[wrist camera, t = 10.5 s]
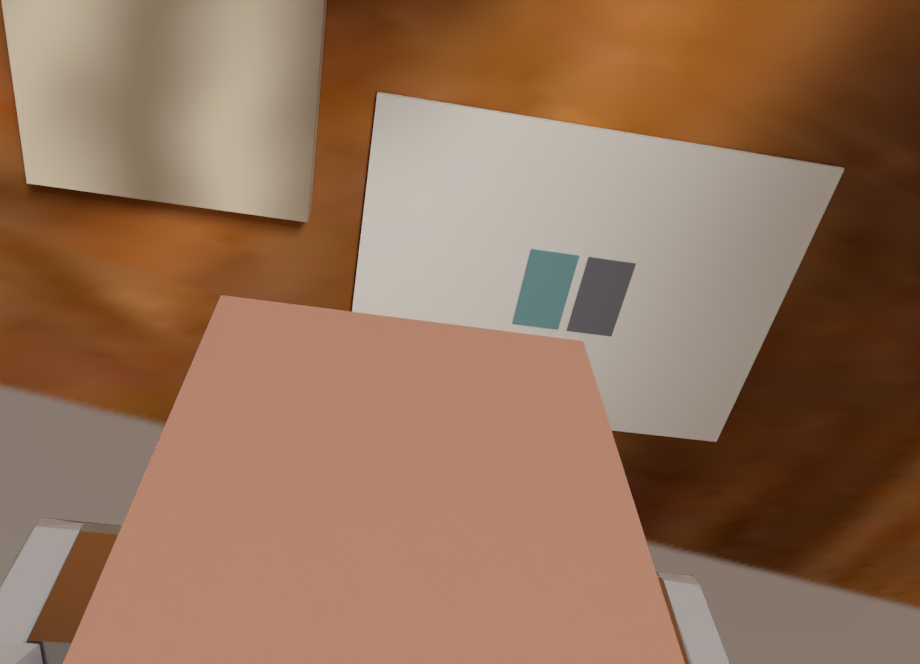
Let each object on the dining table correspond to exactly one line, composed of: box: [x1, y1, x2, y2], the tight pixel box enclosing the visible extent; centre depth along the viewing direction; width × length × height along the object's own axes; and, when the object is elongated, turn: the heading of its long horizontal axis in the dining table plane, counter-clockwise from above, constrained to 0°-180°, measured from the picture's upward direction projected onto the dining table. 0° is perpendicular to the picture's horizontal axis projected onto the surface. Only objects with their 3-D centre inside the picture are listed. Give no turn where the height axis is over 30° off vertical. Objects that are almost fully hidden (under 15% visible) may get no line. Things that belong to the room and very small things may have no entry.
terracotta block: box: [63, 295, 685, 664], centre depth 9 cm, size 5×5×7 cm
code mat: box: [352, 91, 844, 442], centre depth 32 cm, size 18×14×1 cm
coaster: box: [1, 0, 327, 222], centre depth 26 cm, size 10×10×1 cm
